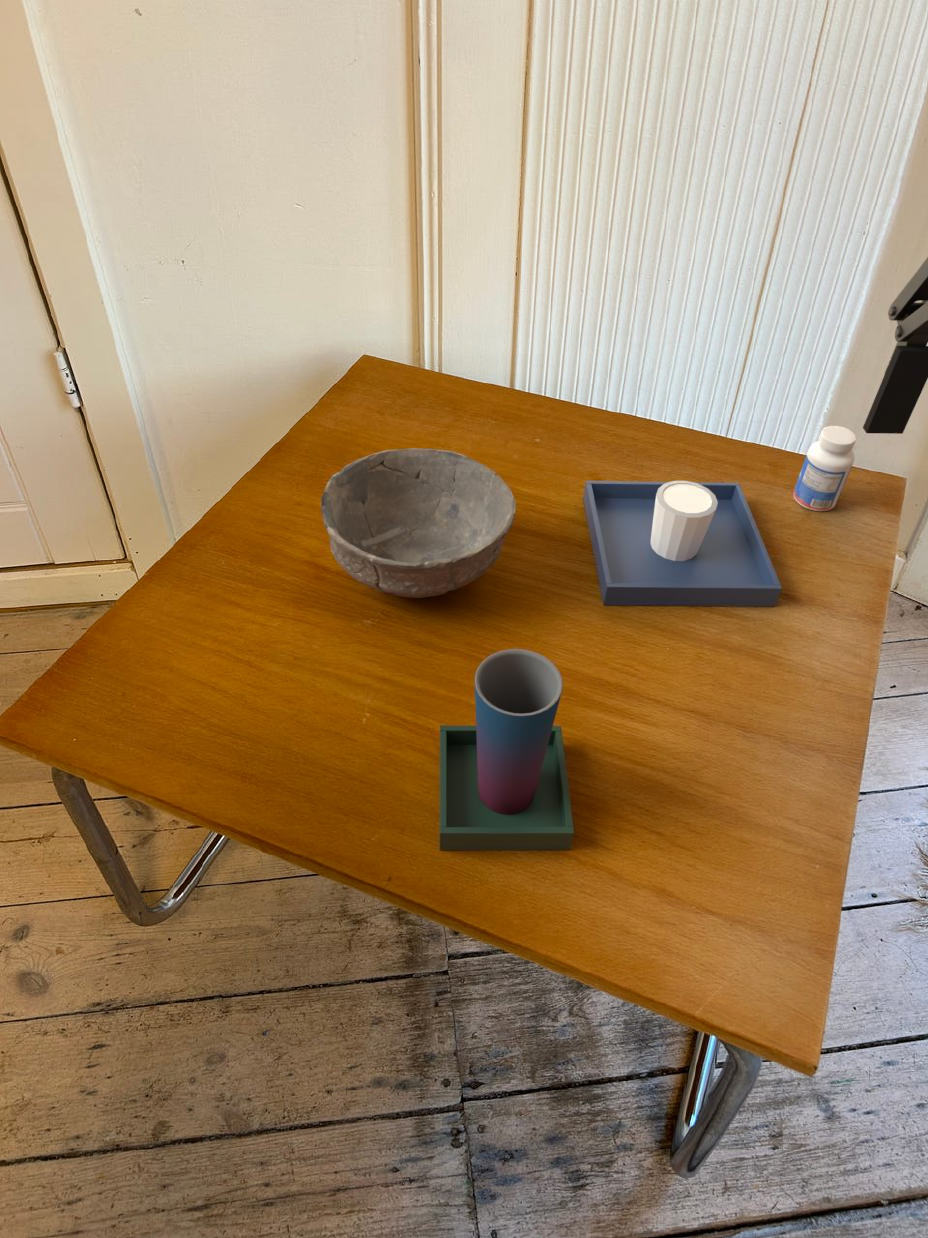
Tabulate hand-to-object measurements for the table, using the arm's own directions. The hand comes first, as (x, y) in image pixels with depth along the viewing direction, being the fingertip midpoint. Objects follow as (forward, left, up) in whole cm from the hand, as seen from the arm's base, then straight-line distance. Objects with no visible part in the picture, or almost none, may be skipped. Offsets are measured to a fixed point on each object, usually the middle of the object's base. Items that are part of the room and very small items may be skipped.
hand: (919, 486), depth 58 cm
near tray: (-4, +27, -32) cm, 42 cm away
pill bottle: (+40, -15, -32) cm, 53 cm away
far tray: (+30, +5, -32) cm, 44 cm away
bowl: (+26, +35, -32) cm, 54 cm away
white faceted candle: (+30, +5, -31) cm, 44 cm away
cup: (-4, +26, -31) cm, 41 cm away
